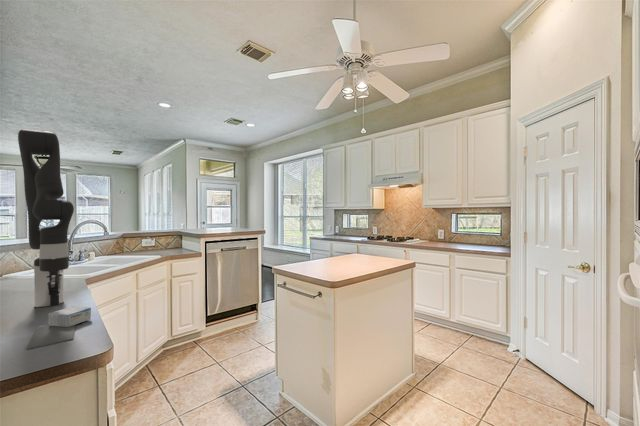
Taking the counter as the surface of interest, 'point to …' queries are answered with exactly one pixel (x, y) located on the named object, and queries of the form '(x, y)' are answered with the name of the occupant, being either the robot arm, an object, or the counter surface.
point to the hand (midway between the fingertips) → (54, 305)
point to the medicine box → (69, 316)
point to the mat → (50, 335)
